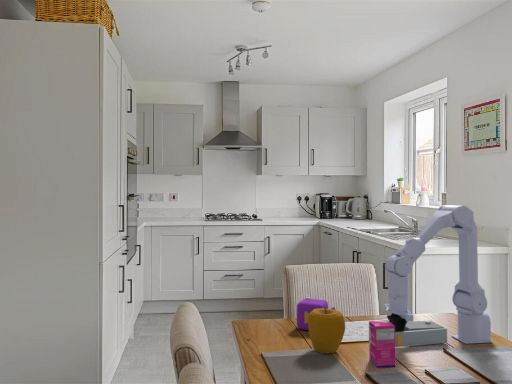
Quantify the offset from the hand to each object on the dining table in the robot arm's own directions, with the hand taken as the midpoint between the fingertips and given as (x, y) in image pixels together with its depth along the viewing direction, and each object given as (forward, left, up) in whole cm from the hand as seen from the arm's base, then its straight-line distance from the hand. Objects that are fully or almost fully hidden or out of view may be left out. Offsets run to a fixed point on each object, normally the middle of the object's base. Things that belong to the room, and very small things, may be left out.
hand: (397, 338), depth 149 cm
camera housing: (-10, -5, -2) cm, 12 cm away
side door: (-7, +1, -2) cm, 8 cm away
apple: (+23, +1, -3) cm, 23 cm away
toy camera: (+19, -23, -3) cm, 30 cm away
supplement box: (+11, +14, -3) cm, 18 cm away
